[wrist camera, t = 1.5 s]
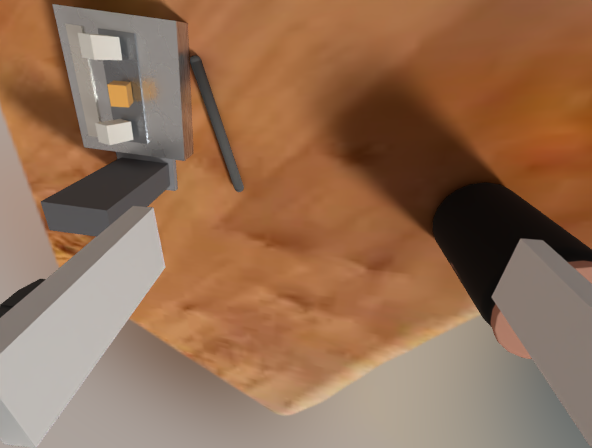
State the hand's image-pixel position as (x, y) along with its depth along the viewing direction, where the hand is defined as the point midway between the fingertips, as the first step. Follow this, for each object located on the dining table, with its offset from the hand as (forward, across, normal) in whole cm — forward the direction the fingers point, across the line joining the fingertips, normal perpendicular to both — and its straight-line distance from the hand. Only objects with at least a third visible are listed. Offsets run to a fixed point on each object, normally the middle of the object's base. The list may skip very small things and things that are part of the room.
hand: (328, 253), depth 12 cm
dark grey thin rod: (+28, -12, -3) cm, 31 cm away
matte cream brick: (+25, -22, -3) cm, 33 cm away
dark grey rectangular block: (+28, -22, -9) cm, 37 cm away
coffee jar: (+29, +21, -12) cm, 37 cm away
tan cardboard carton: (+25, -22, +1) cm, 33 cm away
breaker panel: (+28, -22, +1) cm, 35 cm away
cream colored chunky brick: (+25, -21, +5) cm, 33 cm away
